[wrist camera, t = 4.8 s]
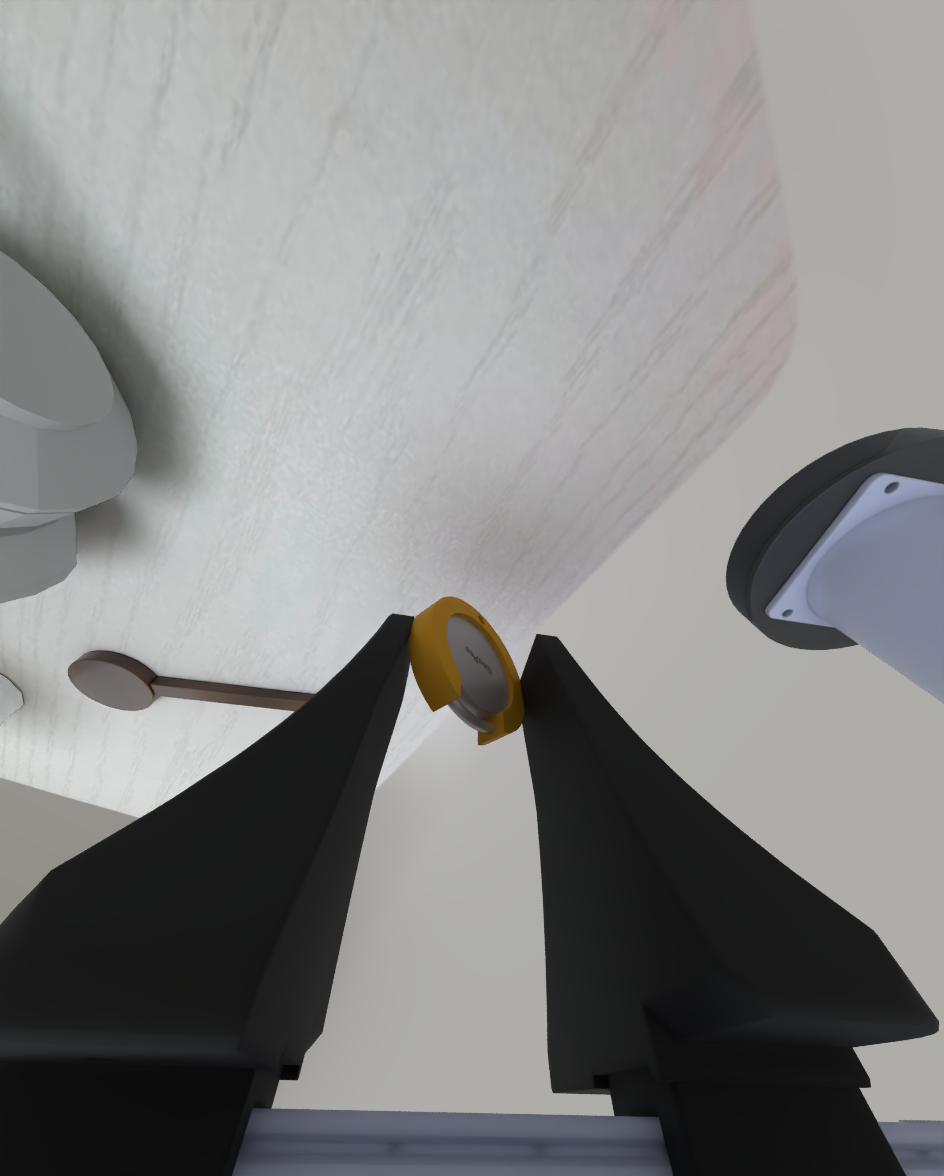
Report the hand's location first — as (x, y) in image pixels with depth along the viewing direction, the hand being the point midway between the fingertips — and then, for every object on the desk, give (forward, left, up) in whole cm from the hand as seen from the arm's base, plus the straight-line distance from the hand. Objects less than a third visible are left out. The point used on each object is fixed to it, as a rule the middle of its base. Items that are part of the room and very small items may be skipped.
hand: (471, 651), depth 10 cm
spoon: (+15, +14, -8) cm, 22 cm away
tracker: (0, 0, -2) cm, 2 cm away
